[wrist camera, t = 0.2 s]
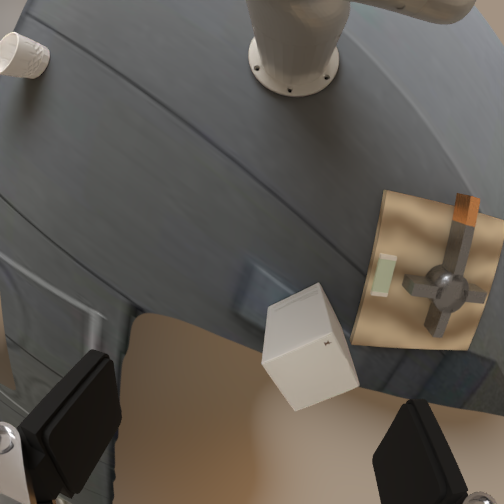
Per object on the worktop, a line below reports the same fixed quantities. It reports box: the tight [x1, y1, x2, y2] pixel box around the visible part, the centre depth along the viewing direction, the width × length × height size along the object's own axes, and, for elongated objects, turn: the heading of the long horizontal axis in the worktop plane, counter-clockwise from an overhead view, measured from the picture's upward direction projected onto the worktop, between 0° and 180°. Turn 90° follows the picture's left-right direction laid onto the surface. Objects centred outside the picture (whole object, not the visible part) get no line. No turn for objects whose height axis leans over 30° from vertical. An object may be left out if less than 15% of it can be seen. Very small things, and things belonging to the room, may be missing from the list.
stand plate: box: [350, 190, 504, 350], centre depth 43 cm, size 24×24×2 cm
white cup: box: [0, 32, 50, 79], centre depth 35 cm, size 8×8×10 cm
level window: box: [370, 253, 397, 297], centre depth 42 cm, size 6×3×1 cm, turn 173°
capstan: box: [402, 193, 487, 338], centre depth 39 cm, size 21×14×5 cm, turn 173°
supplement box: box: [261, 283, 359, 411], centre depth 40 cm, size 9×9×15 cm
